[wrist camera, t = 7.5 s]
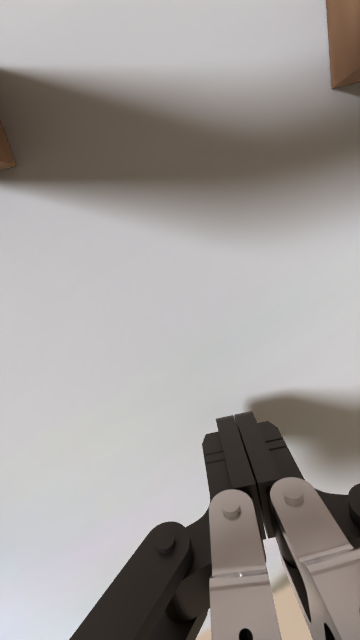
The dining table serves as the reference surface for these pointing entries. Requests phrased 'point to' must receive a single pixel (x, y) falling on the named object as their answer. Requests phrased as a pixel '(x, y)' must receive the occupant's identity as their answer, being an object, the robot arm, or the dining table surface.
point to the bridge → (344, 49)
